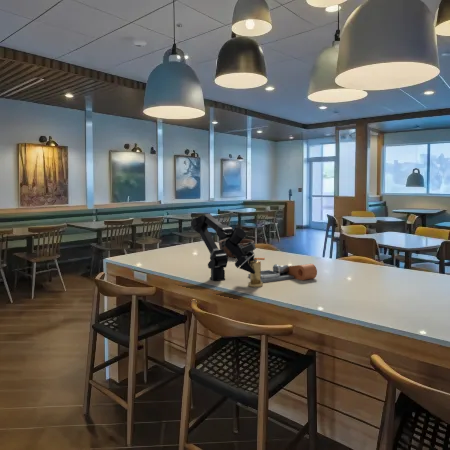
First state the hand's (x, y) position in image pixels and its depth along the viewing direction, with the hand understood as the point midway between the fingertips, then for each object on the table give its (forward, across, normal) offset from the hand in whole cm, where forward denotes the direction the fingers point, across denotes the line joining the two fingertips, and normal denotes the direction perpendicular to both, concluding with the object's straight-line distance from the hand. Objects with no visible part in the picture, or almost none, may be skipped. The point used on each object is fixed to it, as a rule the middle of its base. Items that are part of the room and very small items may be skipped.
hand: (256, 271), depth 190 cm
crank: (+18, +24, -7) cm, 31 cm away
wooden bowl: (-16, +75, +27) cm, 81 cm away
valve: (+5, 0, +6) cm, 7 cm away
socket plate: (+8, +18, +2) cm, 19 cm away
